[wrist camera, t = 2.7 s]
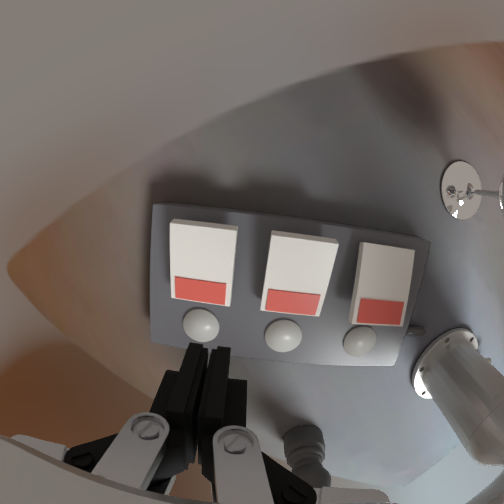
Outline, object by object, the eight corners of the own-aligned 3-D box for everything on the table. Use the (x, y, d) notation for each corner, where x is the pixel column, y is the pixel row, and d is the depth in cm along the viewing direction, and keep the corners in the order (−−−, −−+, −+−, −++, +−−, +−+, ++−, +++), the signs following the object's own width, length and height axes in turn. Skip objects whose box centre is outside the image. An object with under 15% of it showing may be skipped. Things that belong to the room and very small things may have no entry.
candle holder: (278, 431, 38) (282, 576, 14) (317, 420, 37) (342, 566, 13) (289, 451, 39) (297, 581, 15) (326, 441, 39) (349, 572, 14)
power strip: (445, 242, 31) (460, 247, 28) (412, 353, 34) (422, 365, 31) (162, 201, 31) (152, 204, 28) (158, 330, 35) (150, 343, 31)
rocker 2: (336, 239, 26) (339, 244, 25) (317, 309, 29) (319, 317, 28) (271, 230, 26) (271, 235, 25) (260, 303, 30) (259, 311, 28)
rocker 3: (409, 249, 28) (415, 250, 26) (397, 323, 28) (403, 326, 27) (359, 242, 28) (364, 242, 26) (348, 320, 28) (352, 324, 27)
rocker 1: (238, 225, 26) (236, 231, 25) (231, 299, 30) (229, 307, 28) (173, 218, 26) (169, 223, 25) (174, 291, 30) (170, 298, 28)
